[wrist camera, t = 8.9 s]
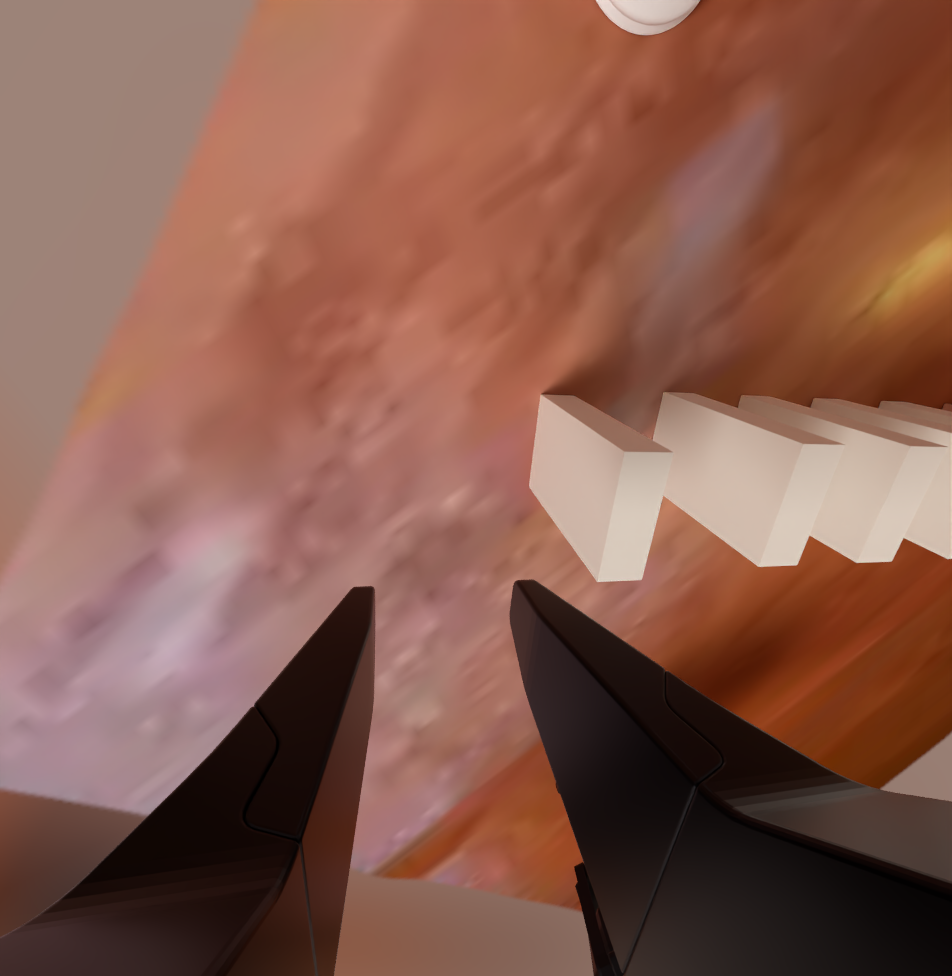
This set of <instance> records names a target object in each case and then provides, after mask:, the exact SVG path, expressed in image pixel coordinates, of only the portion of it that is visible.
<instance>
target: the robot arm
mask: <svg viewBox="0 0 952 976" xmlns="http://www.w3.org/2000/svg"><path fill="white" fill-rule="evenodd" d="M510 625H511V629H512V634H513V639H514V643H515V648H516V652H517V657H518V661H519V666H520V671H521V675H522V680H523V684H524V688H525V692H526V695H527V698H528V701H529V704H530V707H531V710H532V713H533V716H534V719H535V722H536V725H537V728H538V731H539V733H540V736H541V739H542V742H543V745H544V748H545V751H546V754H547V757H548V760H549V763H550V765H551V768H552V771H553V774H554V777H555V780H556V788H557V791H558V793H559V794H560V795H561V797H562V800H563V803H564V806H565V809H566V812H567V815H568V818H569V821H570V824H571V826H572V829H573V832H574V835H575V838H576V841H577V844H578V847H579V850H580V853H581V856H582V858H583V861H584V863H583V862H582V863H580V864H578V865H576V866H574V868H575V872H576V877H577V881H578V882H577V884H576V886H575V887H576V890H577V893H578V896H579V899H580V903H581V907H582V911H583V915H584V919H585V924H586V928H587V932H588V937H589V944H590V951H591V959H592V965H593V973H594V976H952V802H951V801H945V800H938V799H932V798H925V797H919V796H913V795H906V794H900V793H893V792H888V791H883V790H880V789H876V788H873V787H869V786H866V785H863V784H861V783H858V782H855V781H852V780H850V779H848V778H846V777H843V776H841V775H839V774H837V773H835V772H833V771H831V770H830V769H828V768H826V767H824V766H822V765H821V764H819V763H817V762H816V761H814V760H812V759H810V758H809V757H807V756H805V755H804V754H802V753H800V752H799V751H797V750H795V749H793V748H792V747H790V746H788V745H787V744H785V743H783V742H781V741H780V740H778V739H776V738H775V737H773V736H771V735H770V734H768V733H766V732H764V731H763V730H761V729H759V728H758V727H756V726H754V725H753V724H751V723H749V722H747V721H746V720H744V719H742V718H741V717H739V716H737V715H736V714H734V713H732V712H731V711H729V710H728V709H726V708H724V707H723V706H721V705H719V704H718V703H716V702H714V701H713V700H711V699H710V698H708V697H707V696H705V695H704V694H702V693H700V692H699V691H697V690H696V689H694V688H693V687H691V686H690V685H688V684H687V683H685V682H684V681H682V680H681V679H679V678H678V677H676V676H675V675H673V674H672V673H671V672H669V671H666V672H665V669H664V668H663V667H662V666H660V665H659V664H657V663H656V662H654V661H653V660H651V659H650V658H648V657H647V656H645V655H644V654H642V653H641V652H640V651H638V650H637V649H635V648H634V647H632V646H631V645H629V644H628V643H626V642H625V641H623V640H622V639H620V638H619V637H618V636H616V635H615V634H613V633H612V632H610V631H609V630H607V629H606V628H604V627H603V626H601V625H600V624H598V623H597V622H596V621H594V620H593V619H591V618H590V617H588V616H587V615H585V614H584V613H582V612H581V611H579V610H578V609H576V608H575V607H574V606H572V605H571V604H569V603H568V602H566V601H565V600H563V599H562V598H560V597H559V596H557V595H556V594H554V593H553V592H552V591H550V590H549V589H547V588H546V587H544V586H543V585H541V584H540V583H538V582H537V581H535V580H517V581H515V583H514V585H513V591H512V599H511V607H510ZM374 668H375V589H374V587H372V586H365V587H354V588H352V589H351V590H350V591H349V592H348V594H347V595H346V596H345V597H344V598H343V600H342V601H341V602H340V603H339V604H338V605H337V607H336V608H335V609H334V610H333V611H332V613H331V614H330V615H329V616H328V617H327V619H326V620H325V621H324V622H323V623H322V624H321V626H320V627H319V628H318V629H317V630H316V632H315V633H314V634H313V635H312V636H311V637H310V639H309V640H308V641H307V642H306V643H305V645H304V646H303V647H302V648H301V649H300V650H299V652H298V653H297V654H296V655H295V656H294V658H293V659H292V660H291V661H290V662H289V663H288V665H287V666H286V667H285V668H284V669H283V671H282V672H281V673H280V674H279V675H278V677H277V678H276V679H275V680H274V681H273V682H272V684H271V685H270V686H269V687H268V688H267V690H266V691H265V692H264V693H263V694H262V695H261V697H260V698H259V699H258V700H257V701H256V703H255V704H254V707H251V708H250V709H249V710H248V712H247V713H246V714H245V715H244V716H243V718H242V719H241V720H240V721H239V722H238V724H237V725H236V726H235V727H234V728H233V729H232V730H231V731H230V733H229V734H228V735H227V736H226V737H225V738H224V739H223V740H222V742H221V743H220V744H219V745H218V746H217V747H216V748H215V749H214V750H213V752H212V753H211V754H210V755H209V756H208V757H207V758H206V759H205V760H204V761H203V762H202V763H201V764H200V765H199V766H198V767H197V768H196V769H195V770H194V771H193V772H192V773H191V774H190V775H189V776H188V777H187V778H186V779H185V780H184V781H183V782H182V783H181V784H180V785H179V786H178V787H177V788H176V789H175V790H174V791H173V792H172V793H171V794H170V795H169V796H168V797H167V798H166V799H165V800H164V801H163V802H162V803H161V804H160V805H159V806H158V807H157V808H156V809H155V810H154V811H153V812H152V813H151V814H149V815H148V816H147V817H146V818H145V819H144V820H143V821H142V822H141V824H139V825H138V826H137V827H136V828H135V829H134V830H133V831H132V832H131V833H130V834H129V835H128V836H127V837H126V838H125V839H124V840H123V841H122V842H121V843H120V844H119V845H118V846H117V847H116V848H115V849H114V850H113V851H112V852H111V853H110V854H109V855H108V856H106V857H105V858H104V860H102V861H101V862H100V863H99V864H98V865H97V866H96V867H95V868H94V869H93V870H92V871H91V872H90V873H89V874H88V875H87V876H86V877H85V878H83V879H82V880H81V881H80V882H79V883H78V884H77V885H76V886H75V887H74V888H72V889H71V890H70V891H69V892H67V893H66V894H65V895H64V896H63V897H62V898H60V899H59V900H58V901H57V902H55V903H54V904H53V905H51V906H50V907H49V908H47V909H46V910H44V911H43V912H42V913H40V914H39V915H38V916H36V917H35V918H33V919H32V920H30V921H28V922H27V923H25V924H23V925H22V926H20V927H19V928H17V929H15V930H13V931H11V932H10V933H8V934H6V935H4V936H2V937H0V976H334V971H335V964H336V956H337V950H338V943H339V937H340V930H341V923H342V916H343V910H344V903H345V896H346V889H347V883H348V876H349V869H350V862H351V855H352V849H353V842H354V835H355V828H356V821H357V814H358V808H359V801H360V794H361V787H362V780H363V774H364V767H365V760H366V753H367V746H368V739H369V733H370V726H371V719H372V711H373V702H374Z"/></svg>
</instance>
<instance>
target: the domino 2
mask: <svg viewBox="0 0 952 976" xmlns="http://www.w3.org/2000/svg"><path fill="white" fill-rule="evenodd" d="M653 441H655V442H656V443H658V444H660V445H662V446H663V447H665V448H667V449H669V450H671V451H672V452H674V455H673V458H672V462H671V466H670V470H669V474H668V478H667V482H666V486H665V490H664V494H663V496H665V497H666V498H667V499H669V500H670V501H671V502H673V503H674V504H675V505H677V506H678V507H679V508H681V509H682V510H683V511H685V512H686V513H687V514H689V515H690V516H691V517H693V518H694V519H695V520H697V521H698V522H699V523H701V524H702V525H703V526H705V527H706V528H707V529H709V530H710V531H711V532H713V533H714V534H715V535H717V536H718V537H719V538H721V539H722V540H723V541H725V542H726V543H727V544H729V545H730V546H731V547H733V548H734V549H735V550H737V551H738V552H739V553H741V554H742V555H743V556H745V557H746V558H747V559H749V560H750V561H751V562H753V563H754V564H756V565H757V566H758V567H766V566H790V565H797V564H798V562H799V560H800V557H801V555H802V552H803V550H804V547H805V545H806V542H807V540H808V537H809V535H810V532H811V530H812V527H813V525H814V522H815V520H816V517H817V515H818V512H819V510H820V507H821V505H822V502H823V500H824V498H825V495H826V493H827V490H828V488H829V485H830V483H831V480H832V478H833V475H834V473H835V470H836V468H837V465H838V463H839V460H840V458H841V455H842V453H843V450H844V448H845V444H842V443H839V442H836V441H833V440H830V439H827V438H824V437H821V436H818V435H815V434H812V433H809V432H807V431H804V430H801V429H798V428H795V427H792V426H789V425H786V424H783V423H780V422H777V421H774V420H771V419H768V418H765V417H763V416H760V415H757V414H754V413H751V412H748V411H745V410H742V409H739V408H736V407H733V406H730V405H727V404H724V403H721V402H719V401H716V400H713V399H710V398H707V397H704V396H701V395H698V394H695V393H679V392H663V396H662V401H661V405H660V409H659V414H658V418H657V422H656V427H655V431H654V435H653Z"/></svg>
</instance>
